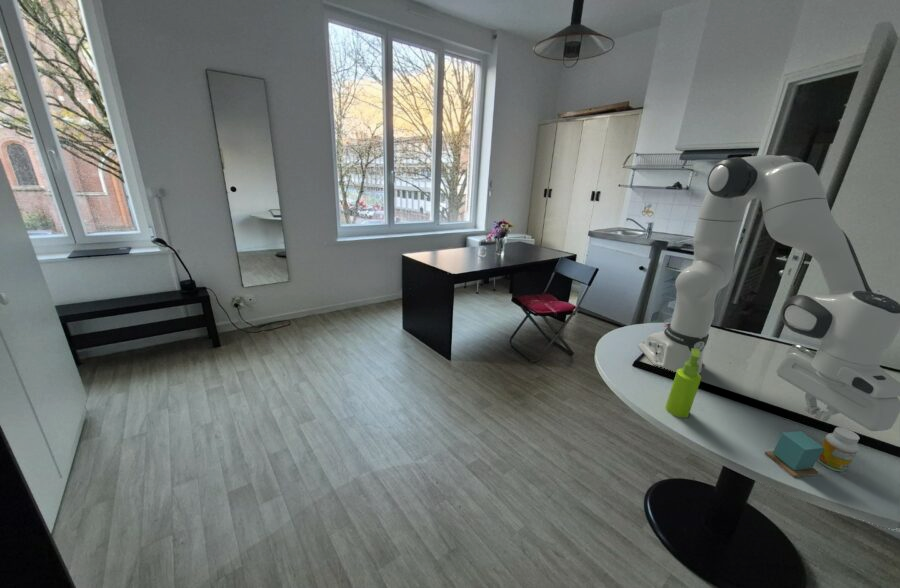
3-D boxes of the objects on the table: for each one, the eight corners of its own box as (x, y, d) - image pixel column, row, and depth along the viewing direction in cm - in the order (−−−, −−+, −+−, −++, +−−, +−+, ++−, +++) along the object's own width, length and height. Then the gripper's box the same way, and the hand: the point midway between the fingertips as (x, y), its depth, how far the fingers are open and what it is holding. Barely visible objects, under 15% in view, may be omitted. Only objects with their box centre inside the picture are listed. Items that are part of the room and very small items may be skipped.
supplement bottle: (813, 450, 88) (829, 421, 84) (843, 461, 85) (861, 431, 81) (816, 464, 84) (833, 434, 81) (847, 476, 81) (866, 445, 77)
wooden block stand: (764, 453, 87) (774, 432, 85) (788, 450, 88) (799, 430, 85) (792, 477, 81) (804, 455, 78) (818, 474, 82) (831, 452, 79)
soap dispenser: (689, 406, 103) (708, 350, 96) (688, 420, 98) (708, 362, 90) (666, 399, 106) (683, 344, 99) (664, 412, 101) (682, 355, 93)
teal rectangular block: (772, 452, 86) (782, 433, 84) (790, 450, 87) (800, 431, 84) (793, 470, 81) (805, 449, 79) (812, 468, 82) (824, 447, 79)
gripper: (780, 342, 82) (760, 388, 88) (891, 397, 64) (857, 452, 69) (803, 340, 83) (782, 386, 88) (919, 394, 64) (883, 449, 70)
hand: (815, 415), depth 79 cm, fingers closed
